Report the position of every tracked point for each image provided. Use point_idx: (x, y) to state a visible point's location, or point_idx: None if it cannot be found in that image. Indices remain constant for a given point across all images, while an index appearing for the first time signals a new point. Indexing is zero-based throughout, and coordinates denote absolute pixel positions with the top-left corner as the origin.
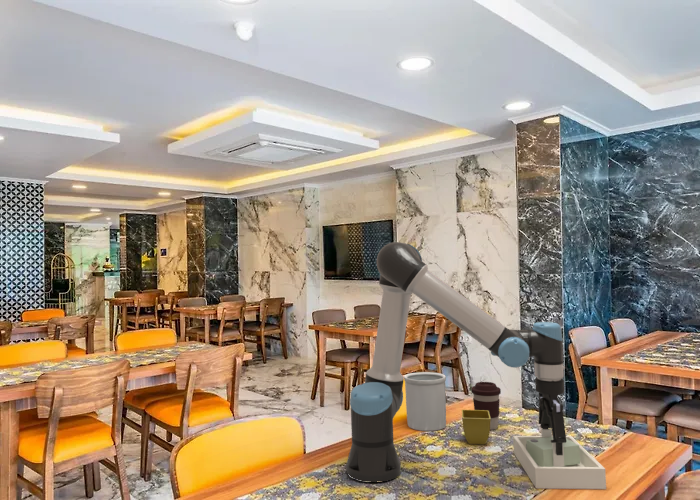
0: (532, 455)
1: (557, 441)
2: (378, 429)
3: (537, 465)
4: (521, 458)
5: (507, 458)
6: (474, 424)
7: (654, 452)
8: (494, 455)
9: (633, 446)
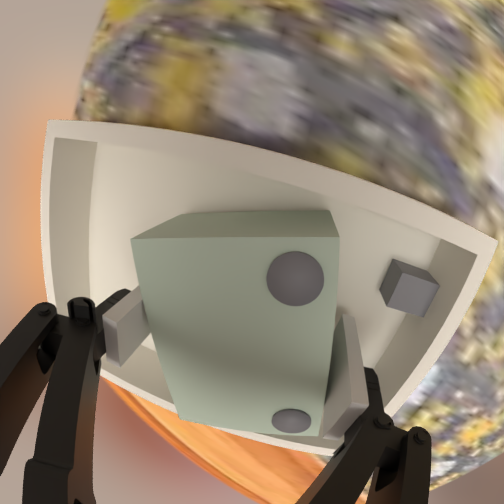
0: (273, 217)
1: (38, 306)
2: None
3: None
4: (305, 160)
5: (407, 145)
6: None
7: (274, 495)
8: (450, 110)
9: None
